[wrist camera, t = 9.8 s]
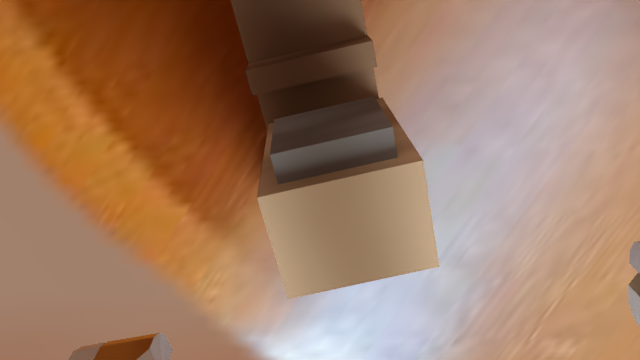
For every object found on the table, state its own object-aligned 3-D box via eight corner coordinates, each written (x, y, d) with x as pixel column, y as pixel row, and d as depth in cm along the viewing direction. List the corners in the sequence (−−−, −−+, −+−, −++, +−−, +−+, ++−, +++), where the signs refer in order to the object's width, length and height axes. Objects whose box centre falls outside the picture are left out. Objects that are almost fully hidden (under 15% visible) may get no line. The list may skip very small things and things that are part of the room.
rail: (313, -213, 16) (332, -379, 8) (388, 184, 22) (441, 312, 14) (190, -181, 16) (93, -313, 8) (295, 205, 22) (296, 343, 14)
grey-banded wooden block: (378, 75, 17) (418, 128, 12) (396, 176, 19) (439, 266, 13) (262, 101, 17) (247, 167, 12) (289, 200, 19) (288, 299, 13)
